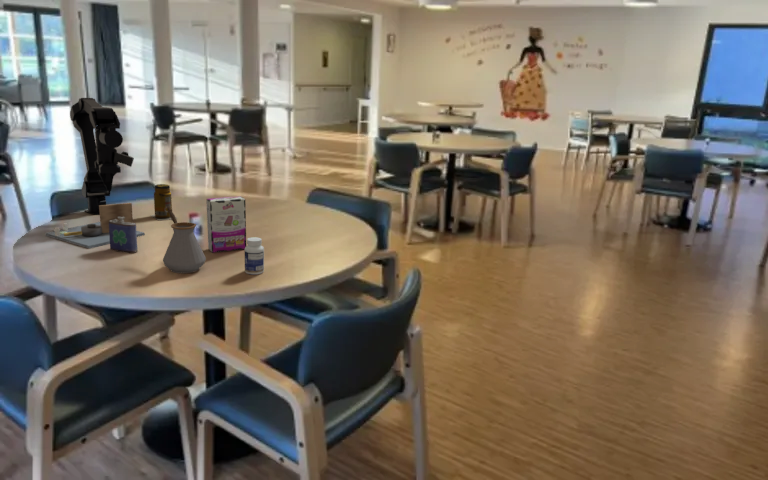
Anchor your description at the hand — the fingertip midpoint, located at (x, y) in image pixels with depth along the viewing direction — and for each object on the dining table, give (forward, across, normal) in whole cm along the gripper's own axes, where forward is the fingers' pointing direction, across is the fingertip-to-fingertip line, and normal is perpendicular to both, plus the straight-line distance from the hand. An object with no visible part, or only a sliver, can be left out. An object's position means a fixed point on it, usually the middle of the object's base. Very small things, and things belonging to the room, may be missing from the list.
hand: (109, 190), depth 202 cm
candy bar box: (+14, -42, -28) cm, 53 cm away
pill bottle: (+15, -66, -29) cm, 74 cm away
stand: (+12, -14, +6) cm, 20 cm away
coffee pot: (+14, -52, -12) cm, 55 cm away
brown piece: (+11, -16, +5) cm, 20 cm away
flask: (+13, -34, +1) cm, 36 cm away
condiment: (+12, +3, -18) cm, 22 cm away
